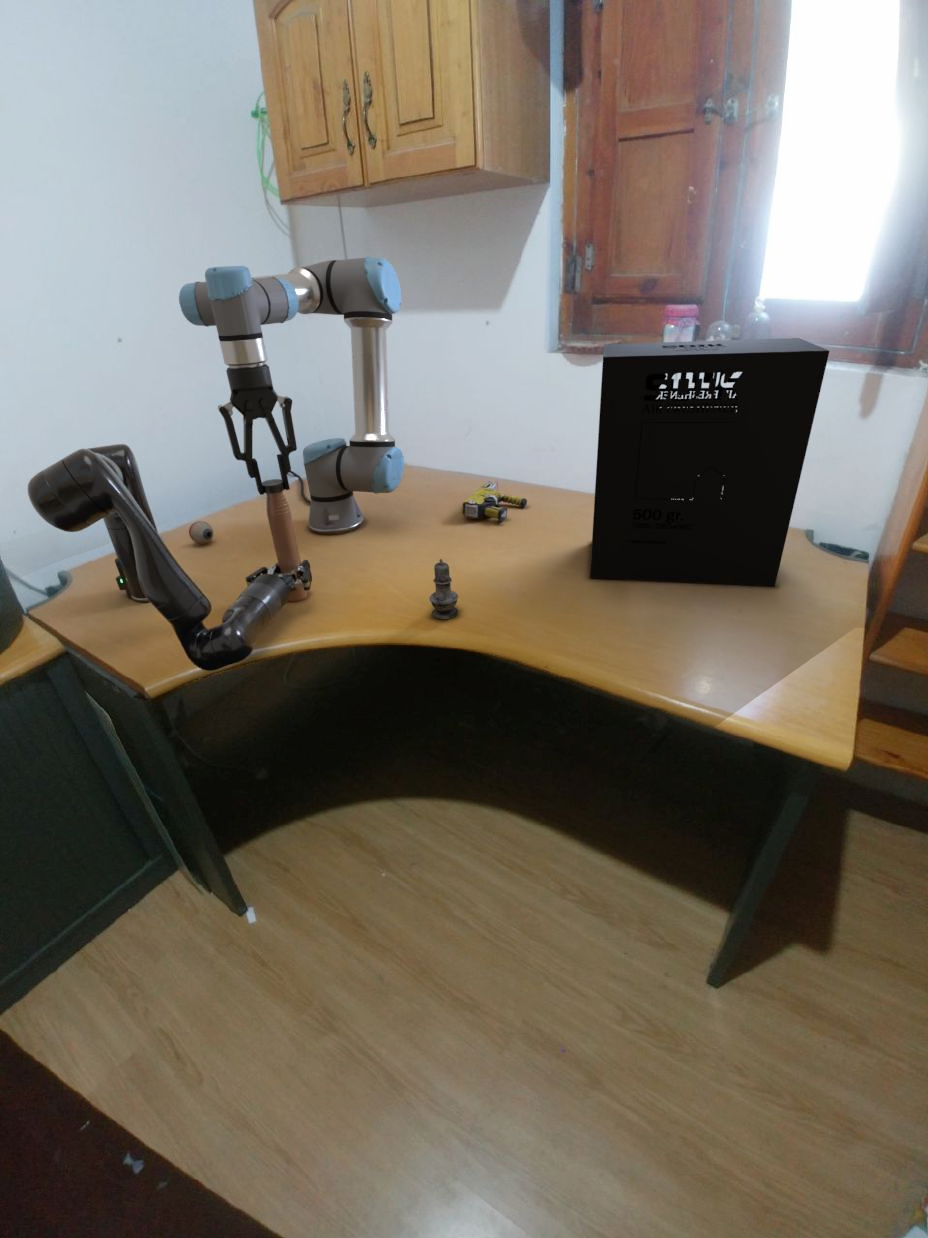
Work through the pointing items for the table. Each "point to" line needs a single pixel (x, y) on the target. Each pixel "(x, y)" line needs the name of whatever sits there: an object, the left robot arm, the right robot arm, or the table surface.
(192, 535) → the eyeball
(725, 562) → the cardboard box
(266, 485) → the cap
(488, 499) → the toy gun
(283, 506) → the bottle
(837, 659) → the table surface
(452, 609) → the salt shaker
